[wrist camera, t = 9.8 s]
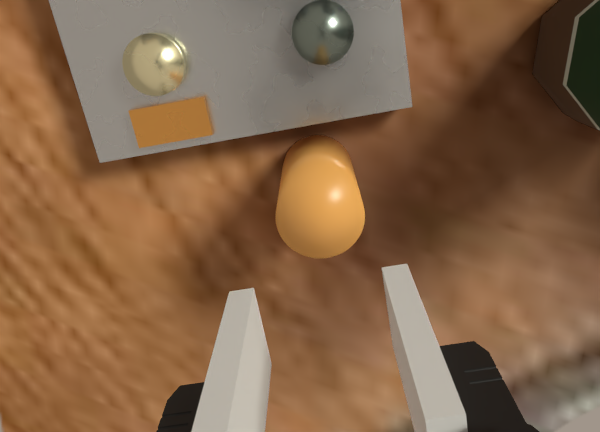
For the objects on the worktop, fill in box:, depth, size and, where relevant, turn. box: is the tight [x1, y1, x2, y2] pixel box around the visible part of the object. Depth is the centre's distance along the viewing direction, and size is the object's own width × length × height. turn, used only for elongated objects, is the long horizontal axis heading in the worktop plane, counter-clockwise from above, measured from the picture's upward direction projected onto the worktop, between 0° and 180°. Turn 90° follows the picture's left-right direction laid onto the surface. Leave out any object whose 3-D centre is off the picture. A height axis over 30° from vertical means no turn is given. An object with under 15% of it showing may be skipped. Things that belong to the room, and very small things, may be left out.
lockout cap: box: [276, 135, 365, 258], centre depth 29 cm, size 4×4×8 cm
